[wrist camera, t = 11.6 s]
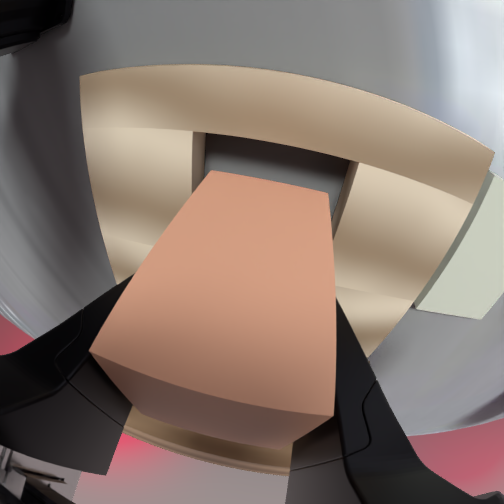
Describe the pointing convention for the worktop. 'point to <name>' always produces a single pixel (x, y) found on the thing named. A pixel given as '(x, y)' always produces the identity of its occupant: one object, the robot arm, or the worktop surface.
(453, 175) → the board
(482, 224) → the tile
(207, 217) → the block
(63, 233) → the worktop surface
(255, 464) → the brown wooden u-shape
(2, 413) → the robot arm
